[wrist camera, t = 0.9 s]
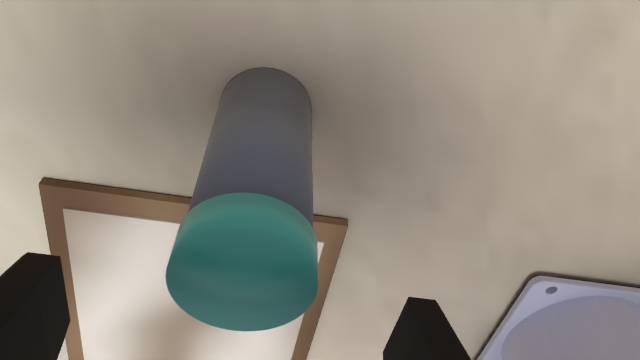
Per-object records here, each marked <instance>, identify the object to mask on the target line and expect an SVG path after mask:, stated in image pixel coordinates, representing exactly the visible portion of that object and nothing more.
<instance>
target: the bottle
mask: <svg viewBox="0 0 640 360" xmlns="http://www.w3.org/2000/svg"><path fill="white" fill-rule="evenodd" d="M165 277H166V285H167V288H168V291H169V293H170V295H171V297H172V298H173V300H174V301H175V302H176V304H177V305H178V306H179V307H180V308H181V309H182V310H184V311H185V312H186V313H187V314H189V315H190V316H192V317H193V318H195V319H197V320H199V321H201V322H203V323H206V324H208V325H211V326H214V327H217V328H222V329H226V330H233V331H262V330H268V329H272V328H276V327H280V326H282V325H285V324H287V323H289V322H291V321H293V320H295V319H297V318H298V317H300V316H301V315H302V314H303V313H304V312H306V311H307V309H308V308H309V307H310V306H311V305H312V303H313V301H314V300H315V297H316V295H317V291H318V248H317V238H316V234H315V232H314V229H313V184H312V108H311V101H310V98H309V95H308V93H307V91H306V90H305V88H304V87H303V86H302V84H301V83H300V82H299V81H298V80H297V79H295V78H294V77H293V76H291V75H289V74H287V73H286V72H283V71H281V70H277V69H273V68H254V69H250V70H247V71H244V72H242V73H240V74H238V75H237V76H236V77H234V78H233V79H232V80H231V81H230V82H229V83H228V84H227V86H226V87H225V89H224V91H223V94H222V97H221V100H220V103H219V107H218V110H217V114H216V117H215V121H214V124H213V127H212V131H211V134H210V138H209V141H208V145H207V148H206V151H205V155H204V158H203V162H202V165H201V169H200V172H199V175H198V179H197V182H196V186H195V189H194V193H193V196H192V199H191V203H190V206H189V210H188V213H187V215H186V216H185V217H184V218H183V220H182V222H181V224H180V226H179V229H178V232H177V235H176V239H175V242H174V245H173V248H172V252H171V255H170V258H169V262H168V265H167V268H166V275H165Z"/></svg>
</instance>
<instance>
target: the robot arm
mask: <svg viewBox="0 0 640 360" xmlns="http://www.w3.org/2000/svg"><path fill="white" fill-rule="evenodd" d="M70 321H71V320H70V314H69V308H68V301H67V295H66V289H65V282H64V276H63V270H62V263H61V257H60V256H55V255H46V254H38V253H29V252H28V253H26V254H25V255H23V256H22V257H21V258H20V259H18V260H17V261H16V262H15V263H14V264H13V265H12V266H11V267H10V268H9V269H8V270H6V271H5V272H4V273H3V274H2V275H1V276H0V360H57V358H58V355H59V353H60V350H61V347H62V344H63V341H64V338H65V335H66V332H67V329H68V326H69V323H70ZM383 360H471V359H470V357H469V355H468V354H467V352H466V350H465V349H464V347H463V345H462V344H461V342H460V340H459V339H458V337H457V335H456V334H455V332H454V330H453V328H452V327H451V325H450V323H449V322H448V320H447V318H446V317H445V315H444V313H443V311H442V310H441V308H440V306H439V305H438V303H437V302H436V300H430V299H422V298H413V297H408V299H407V302H406V304H405V306H404V308H403V310H402V312H401V314H400V317H399V319H398V321H397V323H396V325H395V327H394V329H393V332H392V334H391V336H390V338H389V340H388V342H387V344H386V347H385V349H384V351H383ZM477 360H640V288H633V287H625V286H618V285H610V284H602V283H595V282H587V281H579V280H571V279H564V278H556V277H548V276H536V277H534V278H532V279H531V280H530V281H529V282H528V283H527V285H526V286H525V288H524V289H523V291H522V292H521V294H520V295H519V297H518V298H517V300H516V301H515V303H514V304H513V306H512V307H511V309H510V311H509V312H508V314H507V315H506V317H505V318H504V320H503V321H502V323H501V324H500V326H499V327H498V329H497V330H496V332H495V333H494V335H493V336H492V338H491V339H490V341H489V342H488V344H487V345H486V347H485V348H484V350H483V351H482V353H481V354H480V356H479V357H478V359H477Z"/></svg>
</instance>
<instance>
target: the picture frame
mask: <svg viewBox="0 0 640 360" xmlns="http://www.w3.org/2000/svg"><path fill="white" fill-rule="evenodd" d="M39 189H40V195H41V201H42V207H43V212H44V218H45V224H46V230H47V236H48V241H49V247H50V253H51V255H55V256H60V257H61V263H62V270H63V276H64V282H65V289H66V295H67V301H68V308H69V314H70V320H71V321H70V323H69V326H68V329H67V332H66V335H65V339H66V345H67V351H68V357H69V360H306V359H307V355H308V352H309V349H310V346H311V343H312V340H313V336H314V333H315V330H316V327H317V324H318V320H319V317H320V314H321V311H322V308H323V305H324V301H325V298H326V295H327V292H328V289H329V286H330V282H331V279H332V276H333V273H334V270H335V266H336V263H337V260H338V257H339V254H340V251H341V247H342V244H343V241H344V238H345V235H346V231H347V228H348V220H345V219H338V218H331V217H324V216H316V215H313V229H314V232H315V234H316V238H317V248H318V291H317V295H316V297H315V300H314V301H313V303H312V305H311V306H310V307H309V308H308V309H307V311H306V312H304V313H303V314H302V315H301V316H300V317H298V318H297V319H295V320H293V321H291V322H289V323H287V324H285V325H282V326H280V327H276V328H272V329H268V330H262V331H233V330H226V329H222V328H217V327H214V326H211V325H208V324H206V323H203V322H201V321H199V320H197V319H195V318H193V317H192V316H190V315H189V314H187V313H186V312H185V311H184V310H182V309H181V308H180V307H179V306H178V305H177V304H176V302H175V301H174V300H173V298H172V297H171V295H170V293H169V291H168V288H167V285H166V277H165V275H166V268H167V265H168V262H169V258H170V255H171V252H172V248H173V245H174V242H175V239H176V235H177V232H178V229H179V226H180V224H181V222H182V220H183V218H184V217H185V216H186V215H187V213H188V210H189V206H190V203H191V199H192V198H186V197H179V196H172V195H164V194H157V193H150V192H143V191H135V190H128V189H121V188H114V187H106V186H99V185H92V184H85V183H77V182H70V181H63V180H56V179H48V178H43V179H42V180H41V181H40V183H39Z"/></svg>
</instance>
